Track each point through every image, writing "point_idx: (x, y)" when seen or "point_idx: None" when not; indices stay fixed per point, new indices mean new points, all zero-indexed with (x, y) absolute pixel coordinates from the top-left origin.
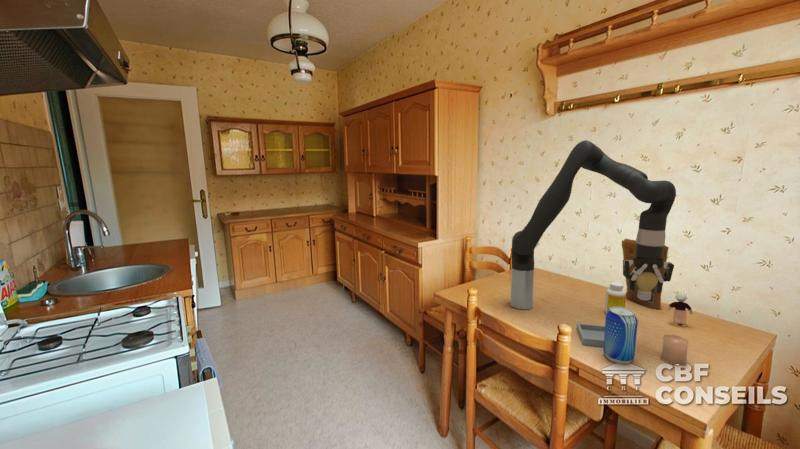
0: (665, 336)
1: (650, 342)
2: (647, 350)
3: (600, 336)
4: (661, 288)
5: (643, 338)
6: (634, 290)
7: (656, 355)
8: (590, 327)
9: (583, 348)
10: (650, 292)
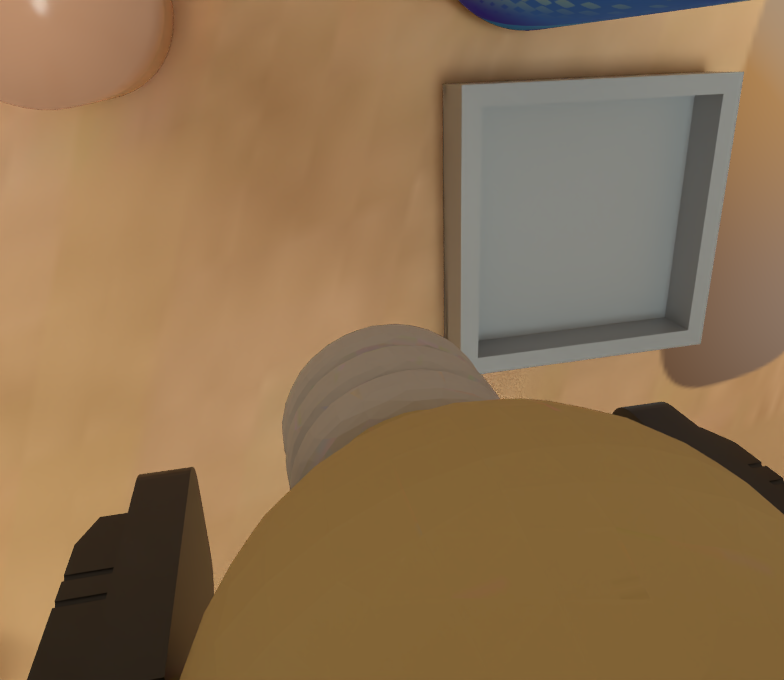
0: (131, 33)
1: (207, 286)
2: (259, 129)
3: (559, 236)
4: (73, 582)
5: (245, 339)
6: (629, 408)
7: (207, 55)
8: (607, 333)
9: (718, 10)
10: (331, 426)
